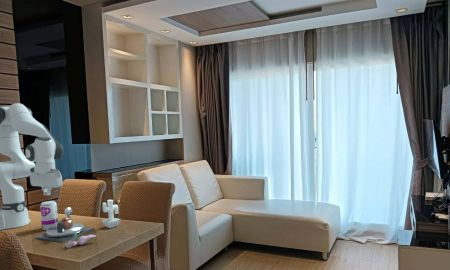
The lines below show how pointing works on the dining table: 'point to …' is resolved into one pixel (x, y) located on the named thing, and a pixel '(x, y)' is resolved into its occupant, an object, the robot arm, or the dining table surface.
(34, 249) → the dining table surface
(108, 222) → the figurine
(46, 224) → the supplement can
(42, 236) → the plinth
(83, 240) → the rabbit figure
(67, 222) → the cover
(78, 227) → the turntable
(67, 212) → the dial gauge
